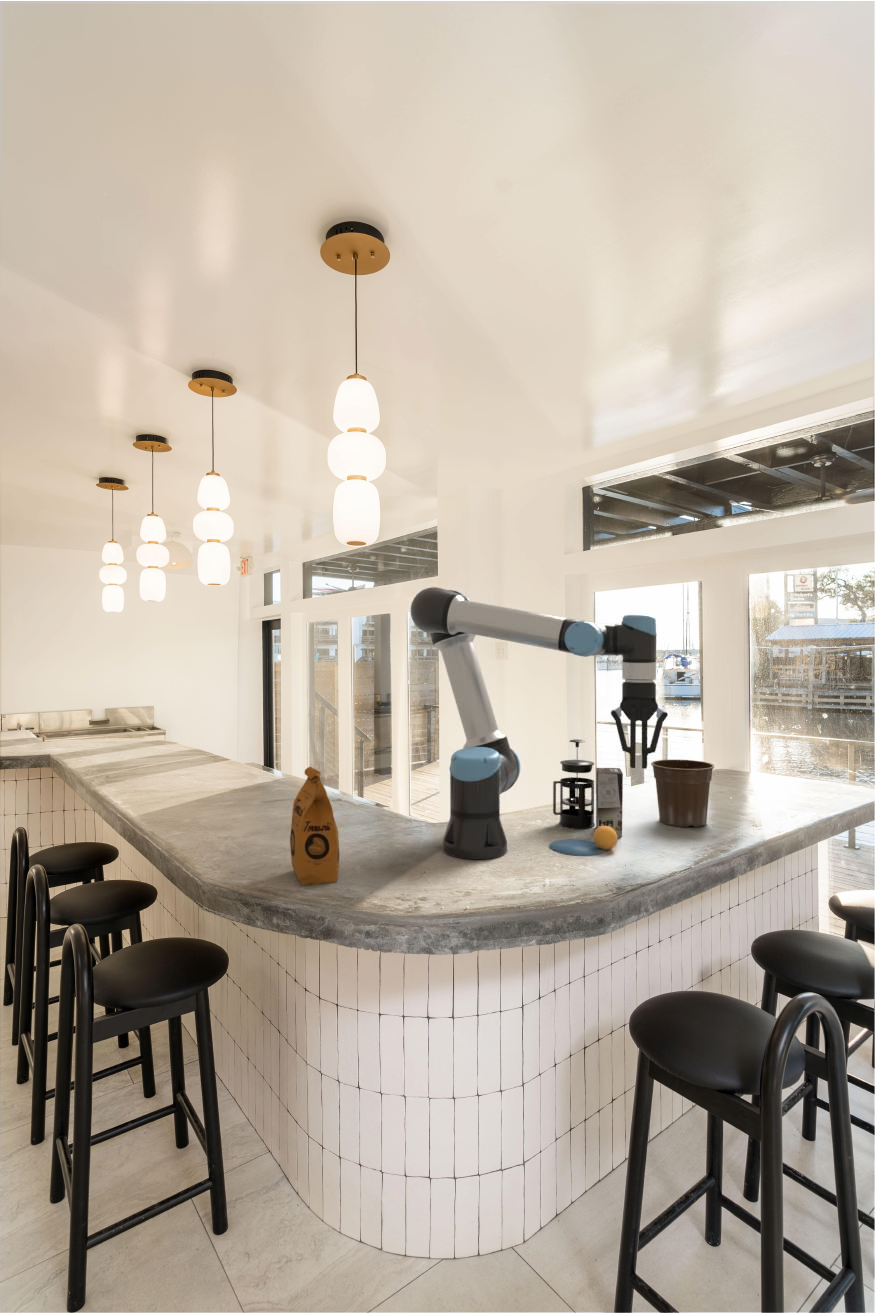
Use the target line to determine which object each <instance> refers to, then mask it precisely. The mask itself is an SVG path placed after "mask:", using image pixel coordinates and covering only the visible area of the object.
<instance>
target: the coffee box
mask: <svg viewBox="0 0 875 1313" xmlns="http://www.w3.org/2000/svg"><path fill="white" fill-rule="evenodd" d="M595 770H596V772H595V773H596V775H595V777H596V778H595V779H596V780H595V786H596V787H595V791H596V792H595V820H596V821H595V824H596V825H595V827H596V828H595V830H596V829H597V828H599V827H601V826H609V827H611V828H612V829H614V830H615V832H616V834H617V838H622V837H623V798H624V797H623V796H624V795H623V791H624V790H623V789H624V787H623V783H624V782H623V780H624V779H623V778H624V774H623V771H622V769H621V768H620V767H595Z"/></svg>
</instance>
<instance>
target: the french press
mask: <svg viewBox="0 0 875 1313" xmlns="http://www.w3.org/2000/svg"><path fill="white" fill-rule="evenodd" d="M569 742H570V743H575V748H576V759H567V760H565V759H564V760H562V761H560V764H561V771H562V772H566V773H572V774H576V775H575V776H576V777H574V776H572V777H569V776H568V777H563V778H562V777H561V779H560V780H553V782H552V784H553V785H552V788H553V789H552V813H553V815H554V816H559V822H558V824H559V826H561V827H563V828H566V827H567V828H566V829H571V828H573V829H572V830H589V829H593V828H594V827H596V825H595V824H596V822H595V780H593V779H590V778H585V777H579V774H588V773H591V772H592V770H593V766H594V765H595V763H594V762H593V761H590V760H586V759H585V760H584V759H579V747H580V743H586V741H585V740H583V739H575V738H574V739H570V740H569ZM557 784H559V788H560V789H559V791H560V792H559V798H560V799H559V801H560V802H559V803H560V805H559V807H560V808H559V812H558V811H557V808H556V807H557ZM563 787H564V788H567V789H569V791H568V794H569V796H568V797H566V798H564V797H563V796H564V793H563V792H564V791H563V790H564V788H563ZM586 789H591V791H590V795H591V796H590V798H591V799H589V798H586ZM563 805H565V806H568V807H569V808H564V806H563ZM576 807H577V808H576ZM586 807H590V809H586ZM556 811H557V812H556ZM592 827H593V828H592Z"/></svg>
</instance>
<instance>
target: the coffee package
mask: <svg viewBox="0 0 875 1313" xmlns="http://www.w3.org/2000/svg"><path fill="white" fill-rule="evenodd" d="M304 769H305V770H304V775H305V776H306V777H307V778H306V780H305V782H304V784H303V785H302V786H301V788H300V790H299V792H297V795H296V797H295V798H294V800H293V804H292V806H293V807H292V813H291V814H292V815H291V823H290V824H291V826H290V835H289V844H290V845H289V846H290V847H289V848H290V860H291V865H292V868H293V871H294V874H295V875H296V877H297V879H298V880H299V882H300V884H301V885H302V886H308V885H312V886H313V885H314V886H315V885H322V884H332V883H333V884H334V883H337V882H338V878H339V868H340V840H339V830H338V826H337V823H336V821H335V817H334V811H333V806H332V804H331V800H330V798H329V796H328V793H327V791H326V788H325V785H324V784H323V783H322V780H321V775H322V774H321V772H322V771H320V770H317V769H316V768H314V767H312V766H308V767H306V768H304Z"/></svg>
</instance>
